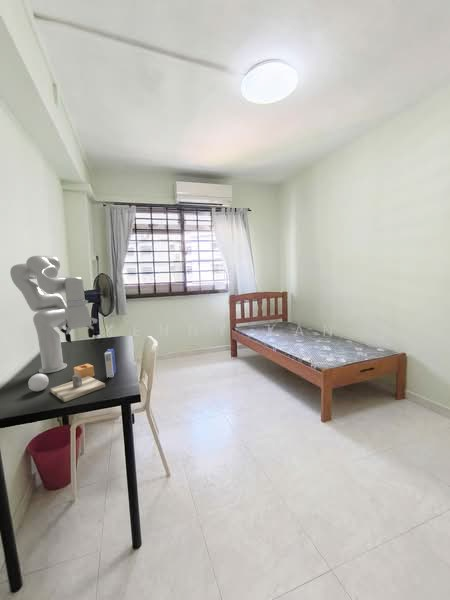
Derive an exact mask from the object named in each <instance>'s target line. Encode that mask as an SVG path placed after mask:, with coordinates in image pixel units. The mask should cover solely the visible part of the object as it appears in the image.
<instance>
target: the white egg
mask: <svg viewBox="0 0 450 600" xmlns="http://www.w3.org/2000/svg"><path fill="white" fill-rule="evenodd" d="M49 381H50V380H49V377H48V376H47V374H45V373H36V374H34V375H31V377H30V378H29V379H28V381H27V382H28V383H27V386H28V388H29V389H30V390H31V391H33V392H40V391H44V389H46V388H47V386H48V385H49Z"/></svg>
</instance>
